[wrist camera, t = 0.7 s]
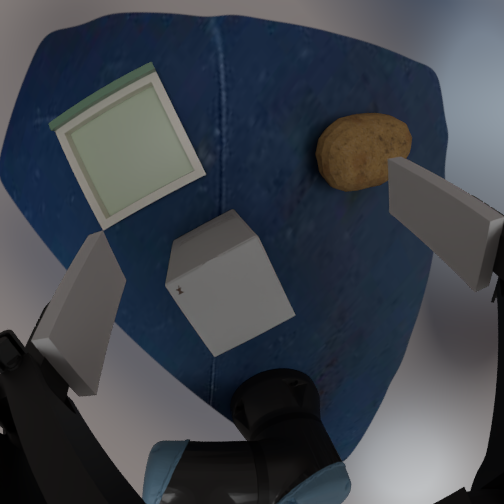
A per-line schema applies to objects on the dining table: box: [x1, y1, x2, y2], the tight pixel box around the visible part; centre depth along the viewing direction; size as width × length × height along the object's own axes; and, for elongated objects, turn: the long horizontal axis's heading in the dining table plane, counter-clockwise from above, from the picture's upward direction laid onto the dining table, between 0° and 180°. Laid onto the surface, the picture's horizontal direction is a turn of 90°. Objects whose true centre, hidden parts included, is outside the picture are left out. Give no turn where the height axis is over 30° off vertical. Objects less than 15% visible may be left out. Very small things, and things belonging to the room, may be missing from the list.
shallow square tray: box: [49, 62, 206, 230], centre depth 34 cm, size 15×14×4 cm
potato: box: [315, 113, 412, 192], centre depth 37 cm, size 10×14×8 cm
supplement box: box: [165, 209, 295, 357], centre depth 34 cm, size 9×9×15 cm
